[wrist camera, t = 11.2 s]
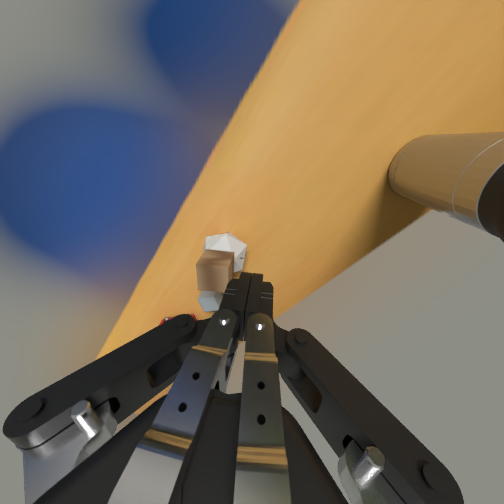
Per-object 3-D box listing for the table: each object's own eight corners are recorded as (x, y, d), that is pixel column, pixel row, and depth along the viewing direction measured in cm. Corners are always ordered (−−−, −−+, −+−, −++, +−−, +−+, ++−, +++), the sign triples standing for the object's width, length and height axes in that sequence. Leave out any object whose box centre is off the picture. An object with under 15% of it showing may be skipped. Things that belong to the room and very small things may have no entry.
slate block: (218, 285, 49) (213, 296, 45) (223, 298, 51) (220, 309, 47) (203, 288, 50) (197, 299, 46) (209, 300, 51) (204, 312, 48)
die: (230, 267, 47) (250, 282, 39) (193, 265, 42) (206, 281, 34) (237, 232, 46) (259, 240, 37) (199, 226, 41) (214, 233, 33)
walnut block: (234, 252, 35) (228, 267, 31) (233, 275, 37) (228, 293, 33) (206, 249, 35) (196, 264, 31) (207, 272, 38) (198, 289, 33)
